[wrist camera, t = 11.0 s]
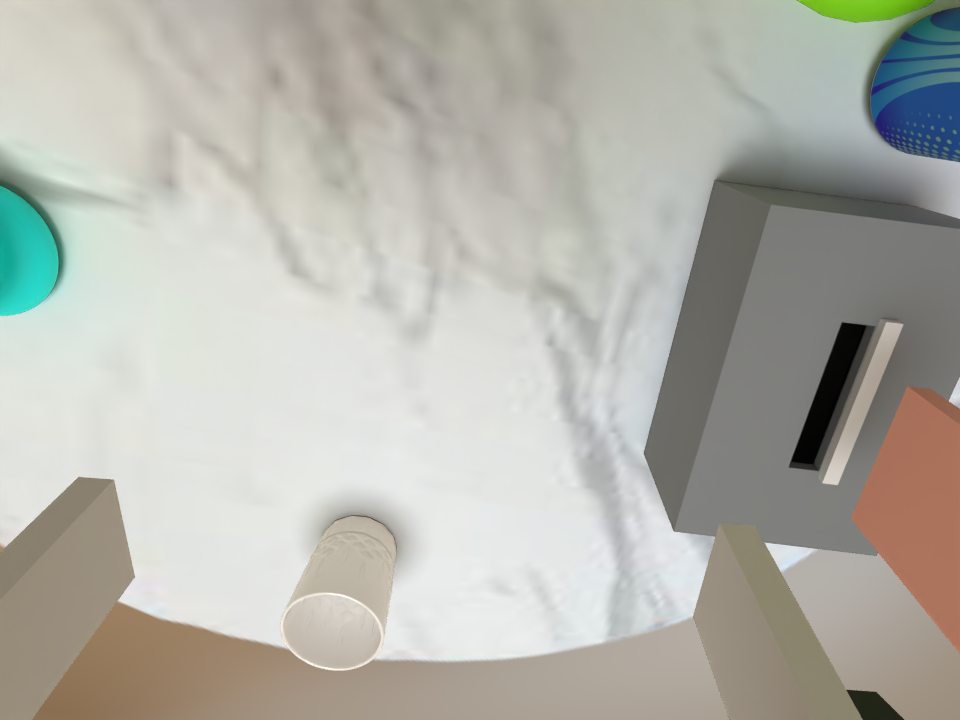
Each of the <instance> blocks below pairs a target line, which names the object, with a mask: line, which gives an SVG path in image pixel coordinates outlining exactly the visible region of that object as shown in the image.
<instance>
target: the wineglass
mask: <svg viewBox="0 0 960 720" xmlns="http://www.w3.org/2000/svg"><path fill="white" fill-rule="evenodd" d="M797 1H799V2H801V3H802V4H804V5H806V6H808V7H809V8H811V9H813V10H814V11H816V12H818V13H819V14H821V15H823V16H827V17H831V18H836V19H841V20H846V21H850V22H855V23H856V22H868V21H879V20H890V19H893V18H896V17H898V16H901V15H904V14H907V13H909V12H912V11H915V10H918V9H920V8H923V7H926V6H927V5H929V4H930V3H932V2H933V1H935V0H797Z"/></svg>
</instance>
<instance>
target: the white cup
mask: <svg viewBox="0 0 960 720" xmlns="http://www.w3.org/2000/svg"><path fill="white" fill-rule="evenodd" d="M396 553H397V549H396V545H395V541H394V537H393V535H392V534H391V533H390V532H389V531H388V530H387V528H386V527H385V526H384V525H383V524H381V523H379V522H377V521H375V520H372V519H370V518H368V517H358V516H349V517H346V518H343V519H339V520H336V521H335V522H334V523H333V524H332V525H331V526H330V527H329V528H328V529H327V530H325V532H324V534H323V536H322V538H321V541H320V543H319V545H318V547H317V548H316V550H315V551H314V553H313V554H312V556H311V558H310V560H309V563H308V565H307V566H306V568H305V570H304V572H303V574H302V576H301V578H300V580H299V582H298V584H297V586H296V588H295V590H294V592H293V594H292V597H291V599H290V601H289V603H288V605H287V607H286V609H285V611H284V613H283V615H282V618H281V622H280V631H281V635H282V638H283V640H284V642H285V644H286V646H287V647H288V648H289V649H290V651H291V652H292V653H293V654H295V655H296V656H297V657H298V658H300V659H301V660H303V661H304V662H306V663H308V664H310V665H313V666H315V667H318V668H322V669H327V670H337V671H341V670H350V669H355V668H358V667H360V666H363V665H365V664H367V663H368V662H370V661H371V660H373V659H374V658H375V657H376V656H377V654H378V653H379V652H380V650H381V648H382V645H383V641H384V635H385V629H386V623H387V617H388V611H389V605H390V599H391V593H392V585H393V578H394V564H395V558H396Z"/></svg>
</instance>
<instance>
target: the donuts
mask: <svg viewBox="0 0 960 720" xmlns="http://www.w3.org/2000/svg"><path fill="white" fill-rule="evenodd" d="M58 269H59V258H58V251H57V247H56V244H55V241H54V238H53V236H52V234H51V232H50V230H49V228H48V226H47V225H46V223H45V222H44V220H43V219H42V217H41V216H40V215H39V214H38V213H37V211H36V210H35V209H34V208H33V207H32V206H31V205H30V204H29V203H27V202H26V201H25V200H24V199H22V198H21V197H20V196H18V195H17V194H15V193H14V192H12V191H10V190H8V189H6V188H4V187H2V186H0V316H9V315H15V314H20V313H23V312H26V311H28V310H30V309H32V308H34V307H36V306H37V305H39V304H40V303H41V302H42V301H43V300H44V299H45V298H46V297H47V296H48V295H49V294H50V292H51V291H52V289H53V287H54V285H55V282H56V279H57V275H58Z"/></svg>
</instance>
